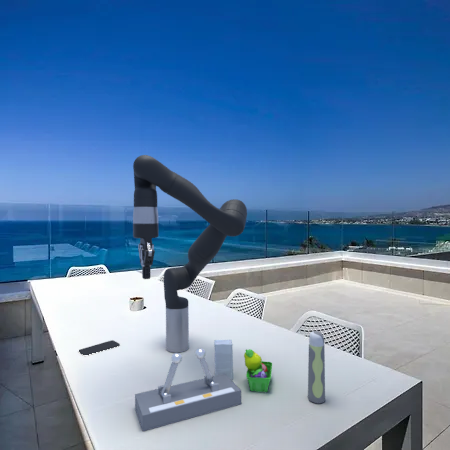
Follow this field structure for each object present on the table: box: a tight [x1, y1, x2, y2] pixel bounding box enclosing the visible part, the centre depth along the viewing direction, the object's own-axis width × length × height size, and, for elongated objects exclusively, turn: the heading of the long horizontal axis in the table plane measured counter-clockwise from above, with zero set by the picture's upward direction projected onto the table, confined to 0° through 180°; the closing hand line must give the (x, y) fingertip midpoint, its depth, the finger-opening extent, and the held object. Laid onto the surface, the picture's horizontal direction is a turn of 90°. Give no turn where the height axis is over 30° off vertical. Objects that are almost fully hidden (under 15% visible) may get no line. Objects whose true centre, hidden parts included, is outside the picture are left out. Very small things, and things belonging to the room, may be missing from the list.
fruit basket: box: [243, 348, 273, 393], centre depth 104 cm, size 11×9×11 cm
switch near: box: [160, 352, 183, 398], centre depth 90 cm, size 4×3×12 cm
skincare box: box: [213, 339, 234, 381], centre depth 109 cm, size 6×4×12 cm
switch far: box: [194, 347, 215, 387], centre depth 95 cm, size 4×3×12 cm
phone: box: [78, 339, 121, 356], centre depth 134 cm, size 7×1×15 cm
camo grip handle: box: [307, 330, 326, 404], centre depth 95 cm, size 5×5×20 cm
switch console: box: [134, 374, 242, 432], centre depth 93 cm, size 11×28×6 cm, turn 115°
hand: (146, 278), depth 100 cm, fingers closed
